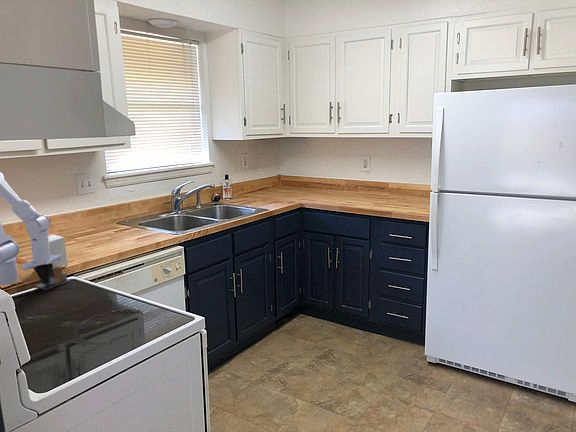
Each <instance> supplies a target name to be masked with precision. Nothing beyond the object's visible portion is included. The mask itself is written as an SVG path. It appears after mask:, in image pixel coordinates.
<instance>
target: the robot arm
mask: <svg viewBox="0 0 576 432" xmlns="http://www.w3.org/2000/svg"><path fill="white" fill-rule="evenodd" d="M0 196H1V197H2V198H4V200H5V201H7V203H9V204H10V205H11V206H12V207H11V208H12V209H11V211H12V212H13V213H14V214H15V215H16V216H17V218H19V219H20V220H21V221H22V222H23V223H24V224H25V225H24V229H25V230H26V232H27V233H28V234H29V235H28V236H29V238H30V244H31V245H30V246H31V253H32V260H30V261H28V262H26V263H23V264H21V265H20V268H21V271H23V272H27V271H28V270H31V269H33V270H34V271H35V272H36V274H37V276H38V277H39V279H40V284H41V283H43V284H47V283H48V279H49V275H50V272H51V270H52V268H53V264H51V262H54V261H58V260H62V255H60V254H57V255H52V256H50V248H49V238H48V236H49V231H48V230H49V228H50V227H51V221H50V218H49V217H48V215H45V214H42V213H40V212H38V211H37V209H36V208H34V206H32V204H31V202H29V201H27V200H26V199H21V198H20V196H18V195H17V193H16V192H15V191H14V190H13V188H11V186H10V185H9V184H8V182H7V181H6V180H5V177H4V174H3V173H2V172H1V171H0ZM19 253H20V247H19V245H18V243H17V242H15V240H14V238H13V236H11V235H9V234H7V233H6V232H5V230H4V227H3V225H2V223H1V222H0V285H8V284H12V283H15V282H17V281H18V279H19V275H18V274H19V273H18V266H17V258H18V257H17V256H19V255H18V254H19Z"/></svg>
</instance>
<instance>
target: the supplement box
mask: <svg viewBox="0 0 576 432" xmlns="http://www.w3.org/2000/svg"><path fill="white" fill-rule="evenodd" d="M48 238H49V248H50V256H52V255H57V254H60V255H62V260H58V261H54V262H51V264H53V265H58V266H63V265H67V266H68V257H67V250H66V249H67V248H66V240H65V237H63V236H60V235H56V234H51V235H48Z"/></svg>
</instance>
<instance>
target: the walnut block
mask: <svg viewBox="0 0 576 432" xmlns="http://www.w3.org/2000/svg"><path fill="white" fill-rule="evenodd" d="M62 272H63V267H61V266H58V265H53V268H52V270H51V272H50V275H49V276H51V277H54V284H58V283H61V282H63V274H62Z"/></svg>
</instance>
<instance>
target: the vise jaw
mask: <svg viewBox="0 0 576 432" xmlns="http://www.w3.org/2000/svg"><path fill="white" fill-rule="evenodd" d="M47 284H50V285H52V284H54V277H51V276H49V279H48V283H47Z"/></svg>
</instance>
